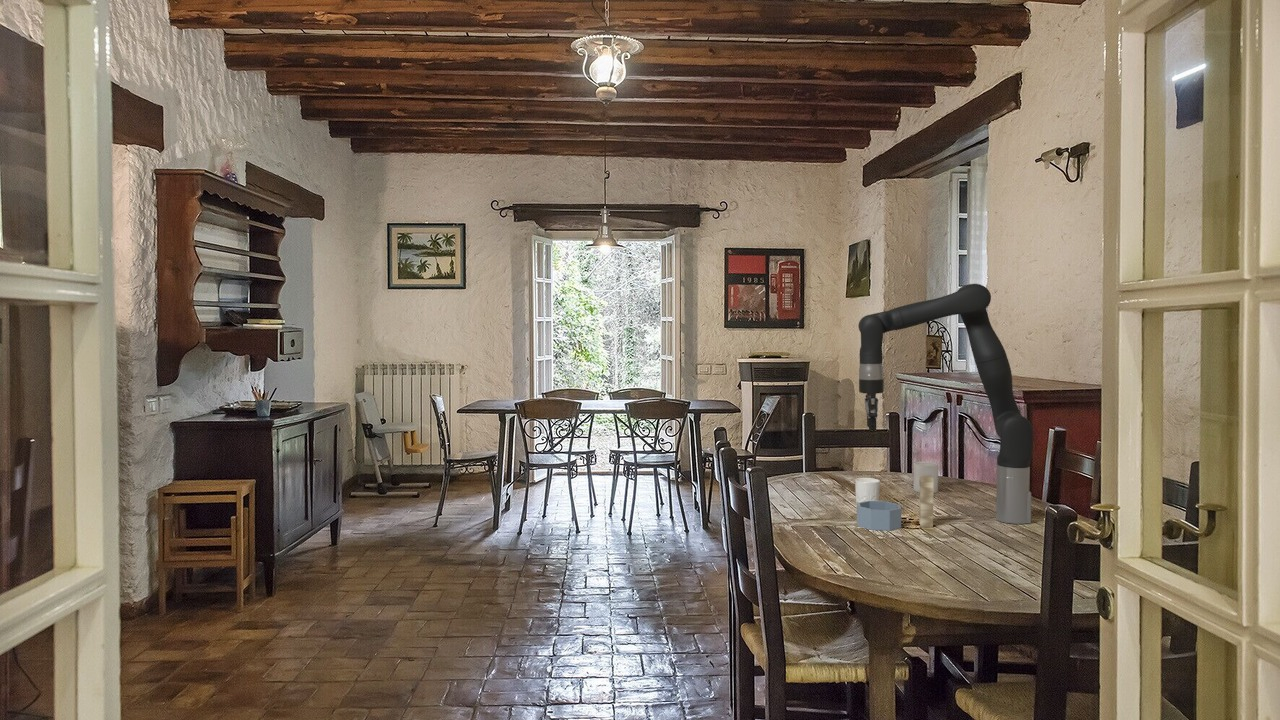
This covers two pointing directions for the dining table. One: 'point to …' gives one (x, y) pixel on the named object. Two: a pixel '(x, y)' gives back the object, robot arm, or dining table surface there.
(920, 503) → the tan square peg
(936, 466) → the mug
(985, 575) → the dining table surface
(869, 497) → the white cup
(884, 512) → the blue octagonal holder
